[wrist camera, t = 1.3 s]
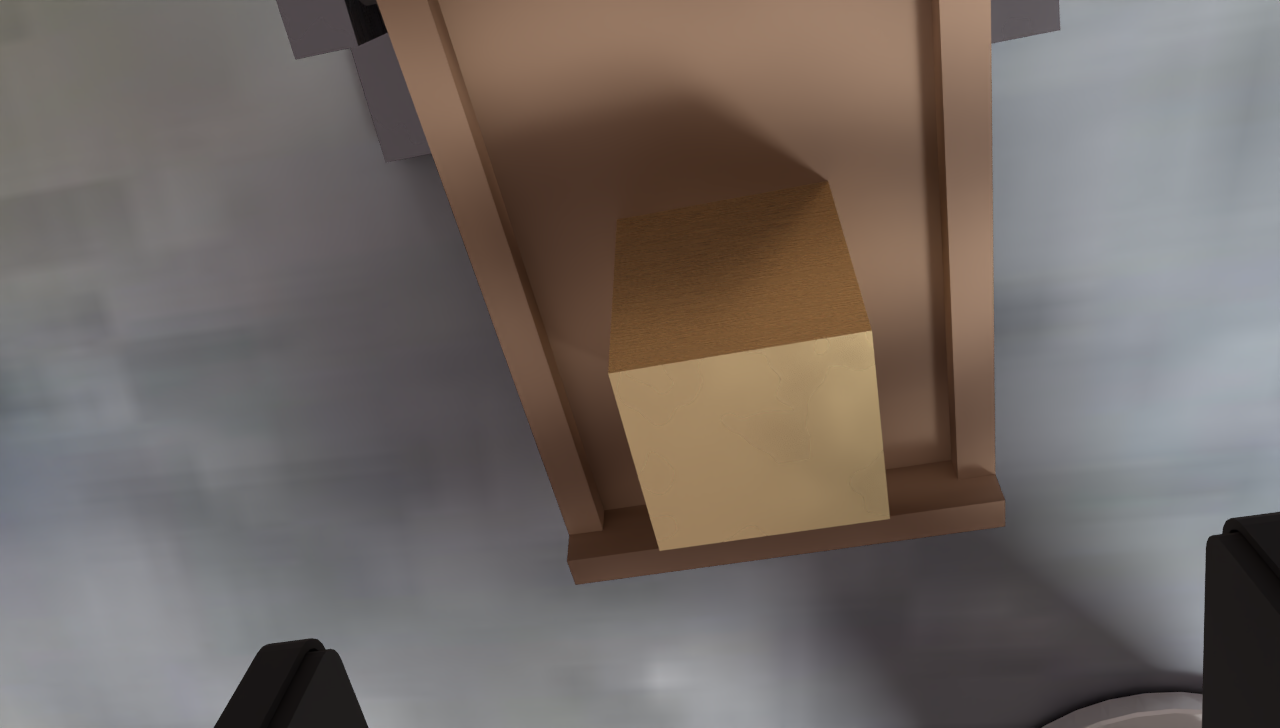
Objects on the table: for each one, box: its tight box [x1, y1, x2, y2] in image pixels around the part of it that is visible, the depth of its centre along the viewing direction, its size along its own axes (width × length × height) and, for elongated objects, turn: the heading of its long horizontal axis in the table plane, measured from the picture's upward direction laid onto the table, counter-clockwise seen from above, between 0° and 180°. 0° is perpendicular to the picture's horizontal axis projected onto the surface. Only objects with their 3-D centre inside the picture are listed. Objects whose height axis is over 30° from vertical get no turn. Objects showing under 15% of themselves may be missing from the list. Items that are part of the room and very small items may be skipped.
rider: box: [608, 181, 890, 551], centre depth 23 cm, size 5×5×6 cm
